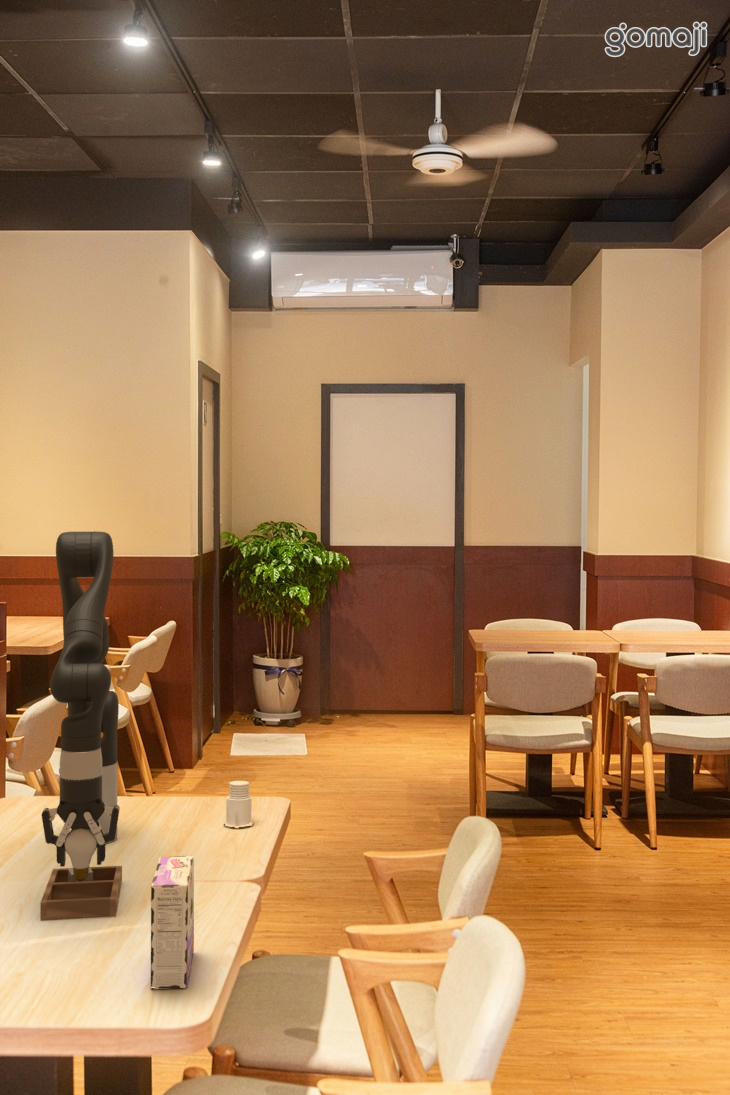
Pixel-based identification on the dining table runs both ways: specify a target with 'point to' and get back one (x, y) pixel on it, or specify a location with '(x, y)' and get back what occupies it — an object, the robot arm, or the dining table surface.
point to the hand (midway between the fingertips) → (81, 864)
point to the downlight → (238, 804)
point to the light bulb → (80, 851)
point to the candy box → (172, 922)
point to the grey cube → (72, 879)
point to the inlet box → (82, 895)
